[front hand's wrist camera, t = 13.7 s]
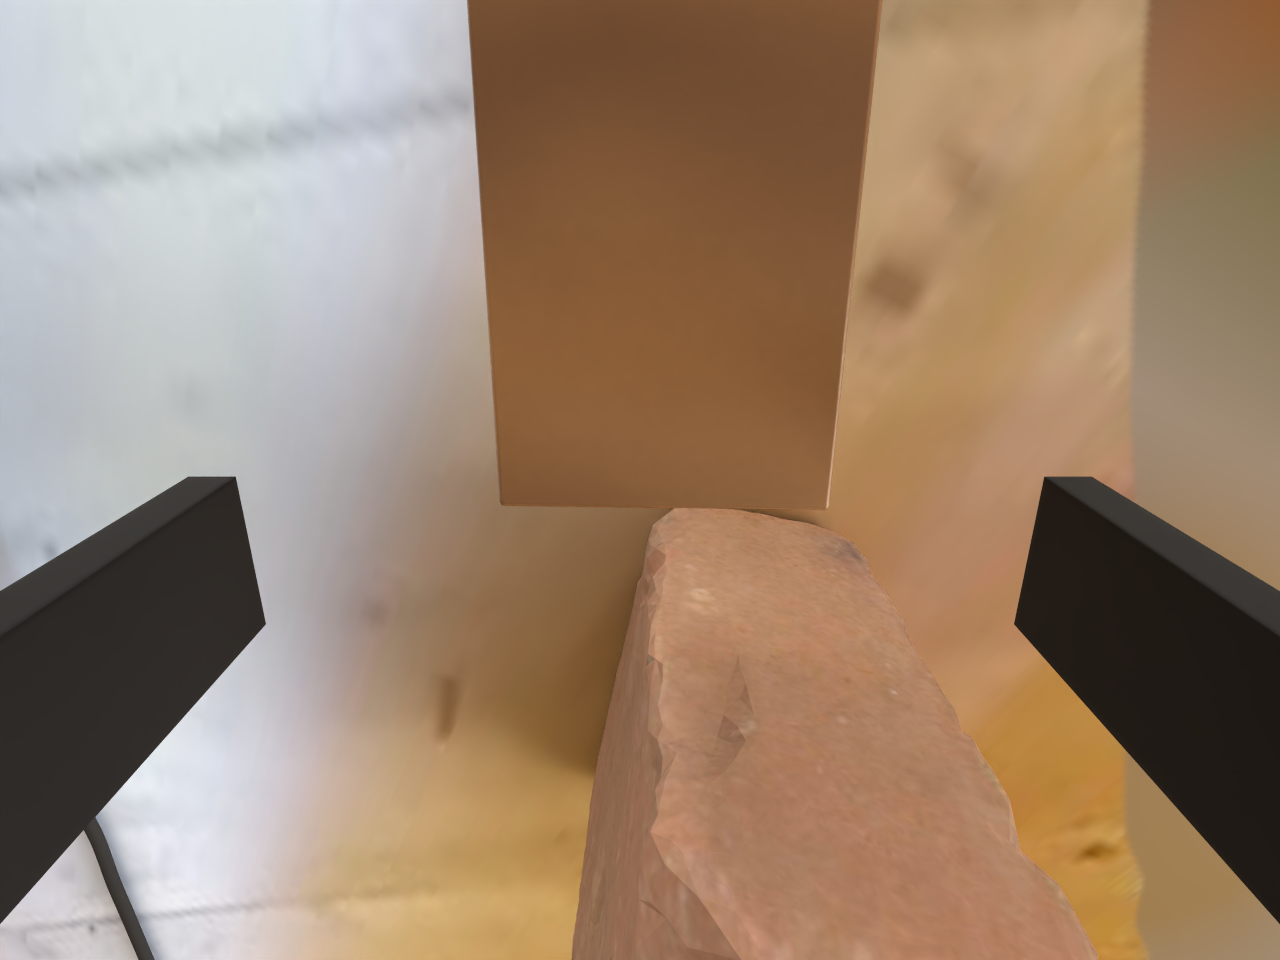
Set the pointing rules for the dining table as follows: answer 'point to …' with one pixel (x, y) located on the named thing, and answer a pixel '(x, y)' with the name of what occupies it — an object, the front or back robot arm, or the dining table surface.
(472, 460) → the dining table surface
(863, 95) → the box
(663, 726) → the stone
